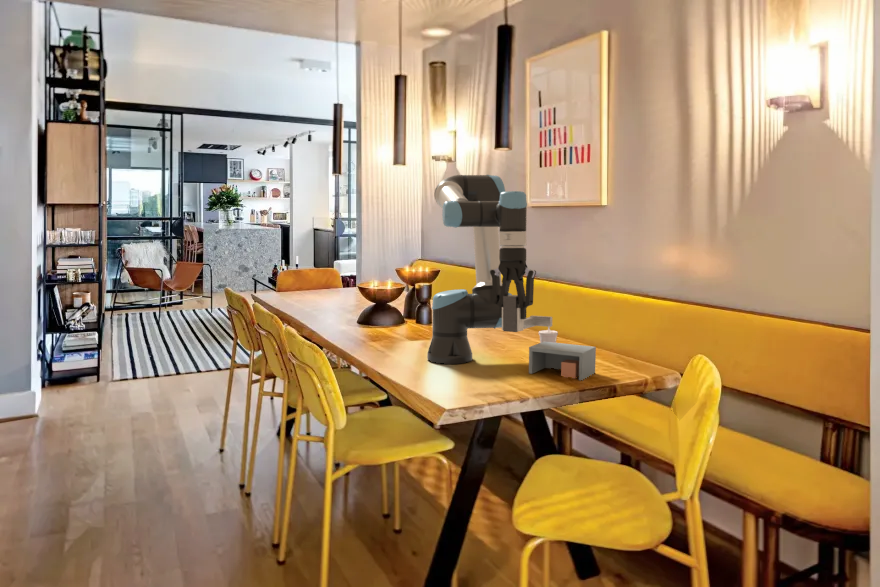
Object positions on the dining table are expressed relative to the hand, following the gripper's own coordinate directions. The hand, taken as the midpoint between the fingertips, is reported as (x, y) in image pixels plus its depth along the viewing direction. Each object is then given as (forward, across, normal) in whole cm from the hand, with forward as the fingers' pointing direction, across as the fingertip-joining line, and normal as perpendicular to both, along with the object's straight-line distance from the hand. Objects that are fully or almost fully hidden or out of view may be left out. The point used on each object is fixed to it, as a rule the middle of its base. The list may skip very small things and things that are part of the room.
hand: (512, 330), depth 184 cm
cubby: (+15, +6, +21) cm, 26 cm away
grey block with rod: (0, +2, +7) cm, 7 cm away
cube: (+16, +10, +19) cm, 27 cm away
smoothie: (+15, -5, +36) cm, 39 cm away
